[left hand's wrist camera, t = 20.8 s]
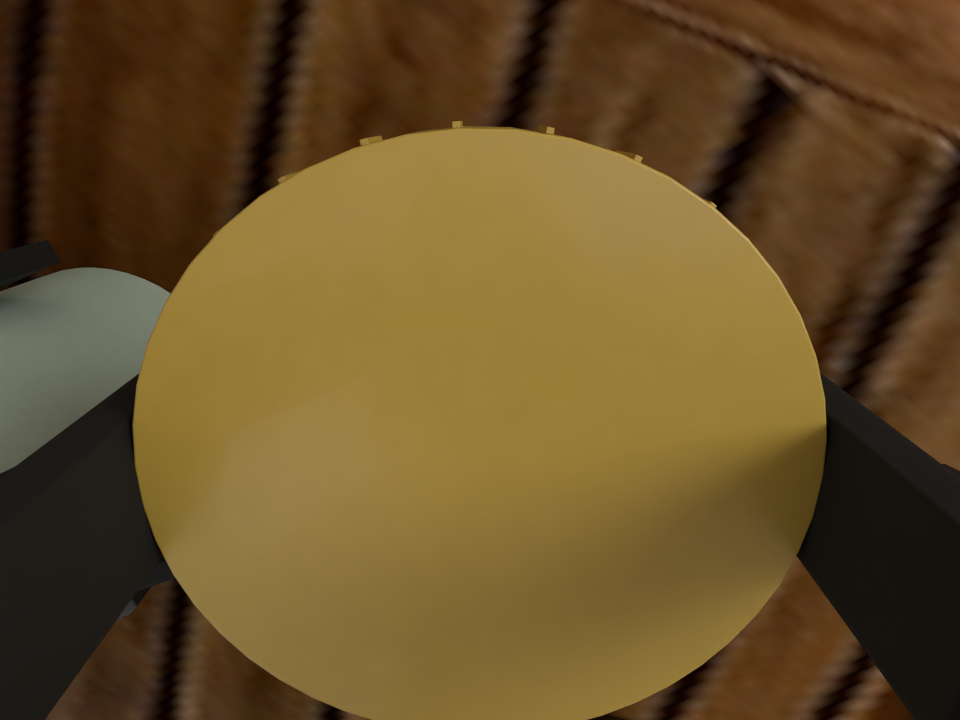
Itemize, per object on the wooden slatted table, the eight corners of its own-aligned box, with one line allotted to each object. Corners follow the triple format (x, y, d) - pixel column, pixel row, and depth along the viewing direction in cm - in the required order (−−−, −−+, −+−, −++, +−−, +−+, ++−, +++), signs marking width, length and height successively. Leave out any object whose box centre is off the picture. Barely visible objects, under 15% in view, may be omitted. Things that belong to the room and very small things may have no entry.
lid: (527, -48, 9) (539, -90, 7) (884, 465, 12) (956, 527, 10) (58, 401, 12) (-21, 454, 10) (451, 730, 15) (447, 817, 13)
